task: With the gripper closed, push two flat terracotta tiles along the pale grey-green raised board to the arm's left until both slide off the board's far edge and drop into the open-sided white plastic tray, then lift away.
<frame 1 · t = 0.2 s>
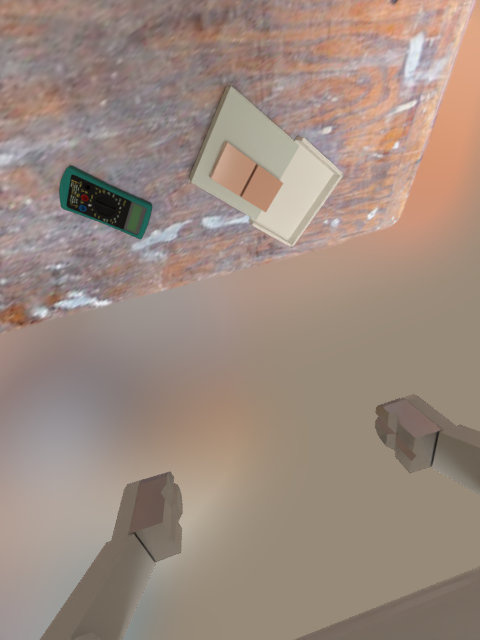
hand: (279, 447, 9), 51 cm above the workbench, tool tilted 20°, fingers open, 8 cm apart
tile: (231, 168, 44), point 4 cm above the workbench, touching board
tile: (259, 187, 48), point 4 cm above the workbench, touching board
digital multimeter: (110, 203, 47), on the workbench
tray: (291, 196, 54), on the workbench
board: (240, 160, 47), on the workbench
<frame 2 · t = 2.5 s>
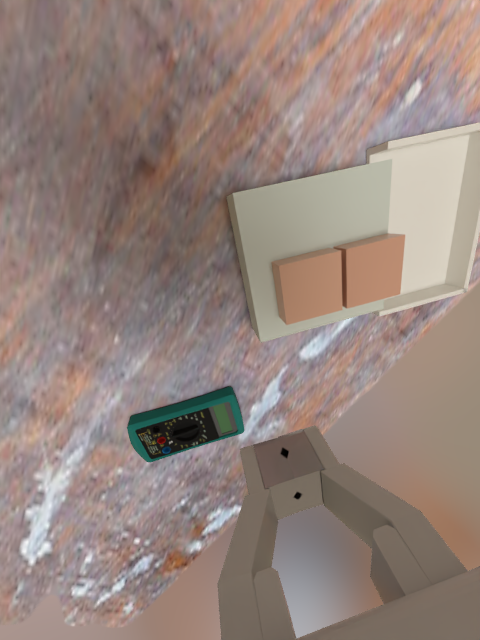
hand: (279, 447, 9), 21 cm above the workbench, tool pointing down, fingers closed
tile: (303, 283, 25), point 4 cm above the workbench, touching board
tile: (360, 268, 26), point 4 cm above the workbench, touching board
digital multimeter: (189, 416, 35), on the workbench
tray: (411, 227, 29), on the workbench
board: (303, 254, 28), on the workbench
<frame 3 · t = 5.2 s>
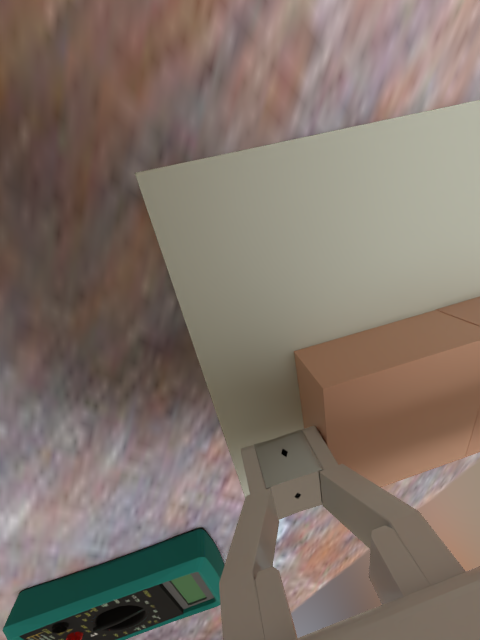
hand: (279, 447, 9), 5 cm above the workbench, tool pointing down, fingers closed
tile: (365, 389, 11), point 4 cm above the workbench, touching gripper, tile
digital multimeter: (133, 568, 20), on the workbench
board: (336, 309, 13), on the workbench
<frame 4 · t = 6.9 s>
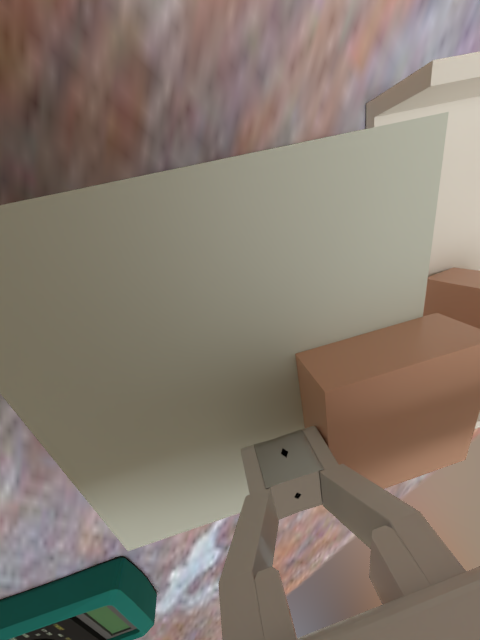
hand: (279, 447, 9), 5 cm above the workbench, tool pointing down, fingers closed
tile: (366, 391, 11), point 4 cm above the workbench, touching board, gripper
digital multimeter: (58, 595, 20), on the workbench
tray: (460, 277, 14), on the workbench
board: (230, 341, 13), on the workbench
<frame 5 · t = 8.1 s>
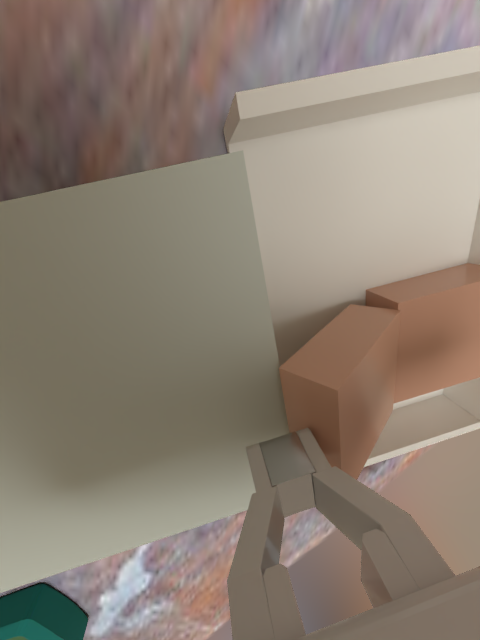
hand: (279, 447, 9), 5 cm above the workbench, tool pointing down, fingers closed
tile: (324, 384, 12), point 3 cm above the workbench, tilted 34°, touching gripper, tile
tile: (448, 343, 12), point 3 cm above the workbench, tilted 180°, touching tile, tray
tray: (367, 302, 14), on the workbench
board: (117, 371, 12), on the workbench
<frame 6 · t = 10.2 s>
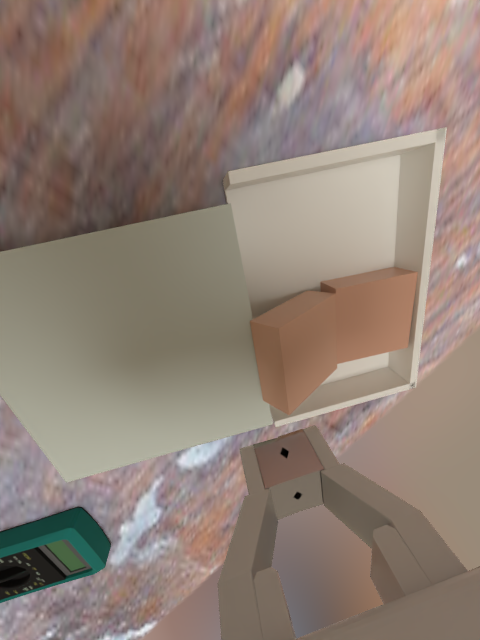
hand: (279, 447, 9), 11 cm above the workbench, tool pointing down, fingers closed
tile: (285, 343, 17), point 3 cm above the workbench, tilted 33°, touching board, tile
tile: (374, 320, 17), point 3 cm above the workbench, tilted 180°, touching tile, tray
digital multimeter: (31, 540, 25), on the workbench
tray: (324, 293, 19), on the workbench
board: (147, 337, 18), on the workbench
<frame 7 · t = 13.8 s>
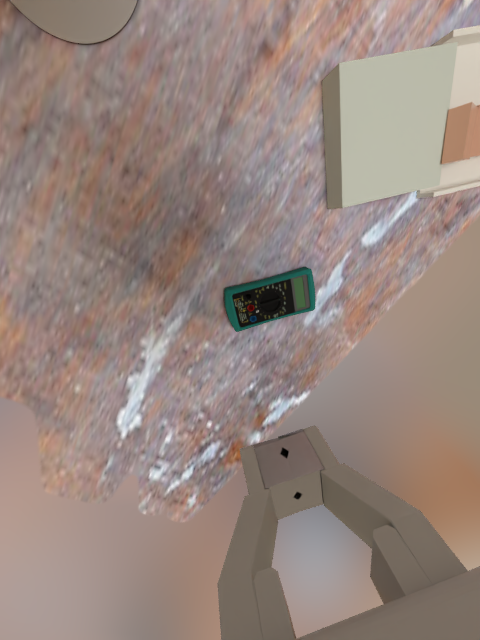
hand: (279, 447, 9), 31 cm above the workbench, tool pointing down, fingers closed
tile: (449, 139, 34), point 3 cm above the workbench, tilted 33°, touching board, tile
digital multimeter: (268, 296, 41), on the workbench
tray: (460, 122, 36), on the workbench
board: (373, 140, 34), on the workbench
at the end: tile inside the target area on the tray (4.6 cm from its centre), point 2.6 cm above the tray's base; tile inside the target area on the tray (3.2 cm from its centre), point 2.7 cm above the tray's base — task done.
